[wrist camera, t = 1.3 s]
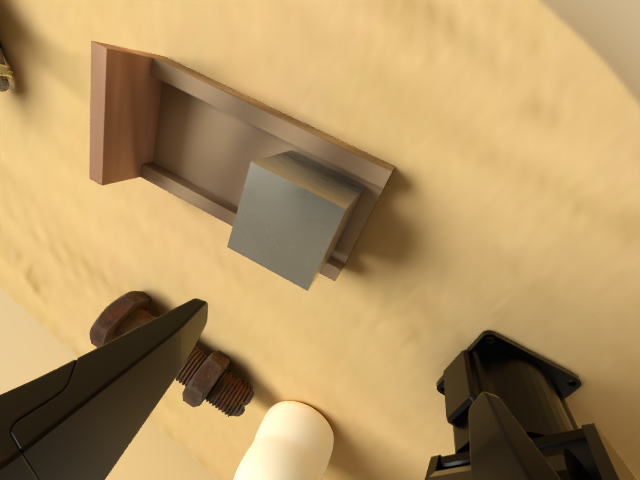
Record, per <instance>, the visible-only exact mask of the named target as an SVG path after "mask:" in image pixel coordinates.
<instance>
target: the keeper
mask: <svg viewBox="0 0 640 480" xmlns="http://www.w3.org/2000/svg"><path fill="white" fill-rule="evenodd" d="M364 188H365V185H363V184H360V183H358V182H356V181H354V180H352V179H350V178H348V177H346V176H344V175H342V174H340V173H338V172H336V171H334V170H332V169H330V168H328V167H326V166H324V165H322V164H320V163H318V162H316V161H314V160H312V159H310V158H308V157H305V156H303V155H301V154H299V153H297V152H295V151H293V150H290V151H287V152H283V153H280V154H276V155H273V156H269V157H265V158H262V159H258V160H255V161H251V163H250V167H249V170H248V174H247V178H246V181H245V185H244V188H243V192H242V196H241V199H240V203H239V206H238V210H237V214H236V217H235V221H234V224H233V228H232V232H231V235H230V239H229V242H228V246H227V247H229V248H230V249H232V250H234V251H236V252H238V253H240V254H241V255H243V256H245V257H247V258H249V259H250V260H252V261H254V262H256V263H258V264H260V265H261V266H263V267H265V268H267V269H269V270H271V271H272V272H274V273H276V274H278V275H280V276H281V277H283V278H285V279H287V280H289V281H291V282H292V283H294V284H296V285H298V286H300V287H302V288H303V289H305V290H307V291H308V290H309V288H310V287H311V285H312V284H313V282H314V281H315V279H316V278H317V276H318V275H319V273H320V272H321V270H322V269H323V267H324V266H325V264H326V263H327V261H328V260H329V258H330V257H331V255H332V254H333V252H334V250H335V248H336V246H337V244H338V242H339V240H340V238H341V236H342V234H343V231H344V229H345V227H346V225H347V223H348V221H349V219H350V217H351V215H352V213H353V211H354V209H355V207H356V205H357V203H358V201H359V198H360V196H361V194H362V192H363V190H364Z"/></svg>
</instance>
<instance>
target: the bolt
mask: <svg viewBox="0 0 640 480" xmlns="http://www.w3.org/2000/svg"><path fill="white" fill-rule="evenodd" d="M150 301H151V298H150V297H149V296H147V295H146V294H144V293H143V292H141V291H131V292H128V293H126V294H125V295H123V296H121V297H119V298H118V299H117V300H115V301H114V302H112V303H111V304H110V305H109V306H108V307H106V309H105V310H104V311H103V312H102V313H101V315H100V316H99V317H98V318H97V320H96V321H95V323H94V324H93V326H92V327H91V330H90V340H91V343H92V344H93V345H95V346H96V347H97V348H99V347H101V346H102V345H104V344H106V343H108V342H110V341H112V340H114V339H116V338H118V337H120V336H122V335H124V334H126V333H128V332H130V331H132V330H134V329H136V328H138V327H140V326H142V325H144V324H145V323H147V322H149V321H151V320H153V319H155V318H156V317H155V316H153V315H152V314H150V313H149V312H147V310H148V307H149V304H150ZM229 363H230V361H229V357H227V356H226V355H224V354H223V353H222V352H220V351H214V352H213V353H211V354H210V356H209V357H208V355H205V353H202V351H199V348H198V349H196V346H195V347H193V349H192V351H191V353H190V355H189V356H188V358H187V360H186V362H185V364H184V365H183V367H182V369H181V370H180V372H179V373H178V375H177V376H176V381H178V380H179V383H181V382H182V385H185V389H184V391H183V401H185V402H186V403H188V404H189V405H191V406H192V407H196V406H200V405H201V403H202V402H203V401H204V400H205V399H206V402H208V401H209V404H211V403H212V406H214V405H215V408H217V407H218V409H219V410H221V409H222V412H224V411H225V415H226V414H228V417H229V416H240V415H242V414H243V412H244V411H245V407H244V406H246V405H247V404H248V403H250V401H251V399H252V398H253V395H254V391H253V387H251V384H250V385H248V383H245V381H242V379H239V377H237V375H234V373H231V371H228V369H226V368H227V367H228V365H229Z"/></svg>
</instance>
